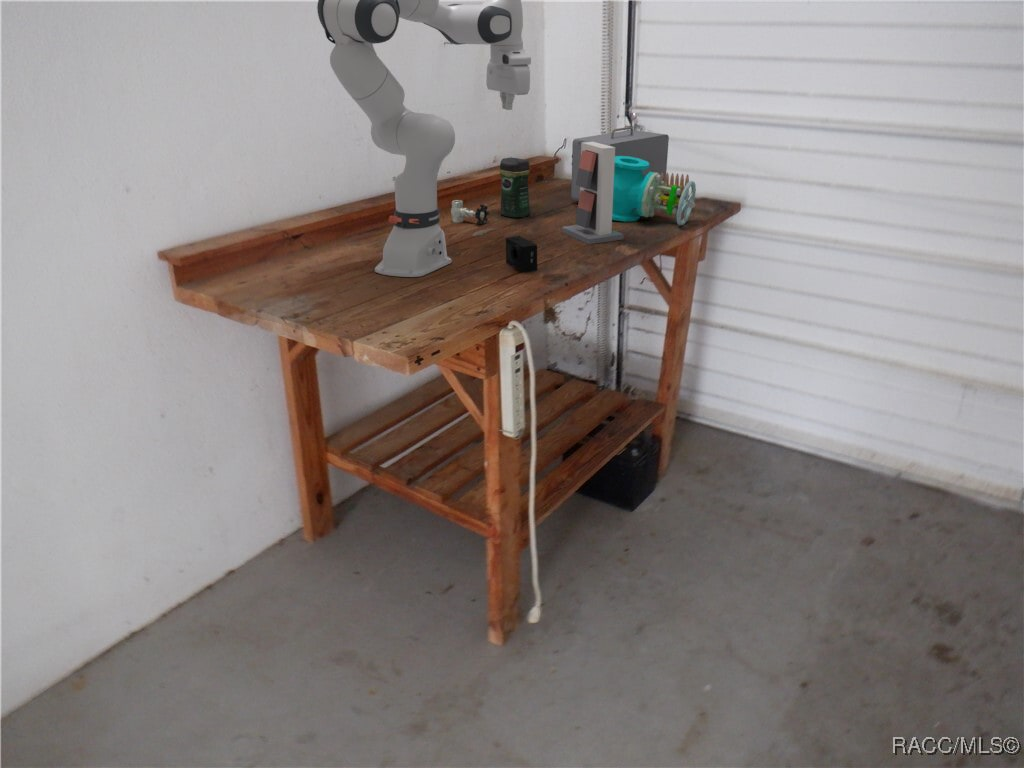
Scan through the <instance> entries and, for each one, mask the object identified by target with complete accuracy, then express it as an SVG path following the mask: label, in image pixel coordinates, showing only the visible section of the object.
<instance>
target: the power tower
mask: <svg viewBox="0 0 1024 768" xmlns="http://www.w3.org/2000/svg"><path fill="white" fill-rule="evenodd" d="M582 151H587V152H591V153H594V154H597V155H596V160H595V165H594V169H593V174H592V179H591V184H590V189H585V188H582V187H580V192H581V190H583V191H587V192H589V193H592V194H595V196H594V201H593V207H592V212H591V218H590V223H589V228H584V227H581V226H579V225H577V224H574V225H565V226H561V233H563V234H565V235H567V236H570V237H572V238H574V239H576V240H578V241H581V242H582V243H584V244H587V245H594V244H603V243H608V242H614V241H620V240H621V241H623V240H624V233H621V232H620V231H617V230H614V229H612V228H613V227H612V226H613V219H612V208H613V186H614V164H615V147H612V146H608V145H604V144H600V143H596V142H583V143H581V154H582Z"/></svg>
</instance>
